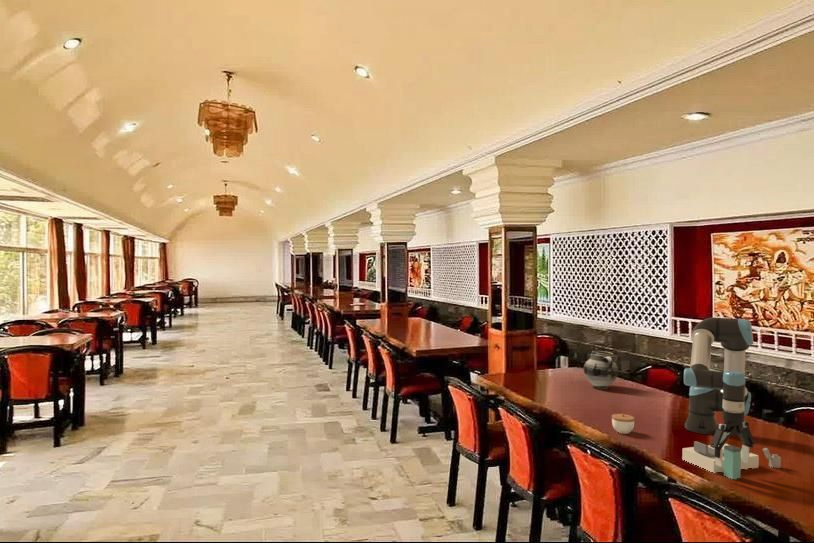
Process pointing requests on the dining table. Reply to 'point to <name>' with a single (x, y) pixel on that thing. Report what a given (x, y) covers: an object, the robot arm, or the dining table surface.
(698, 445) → the shutter
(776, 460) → the lighter
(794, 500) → the dining table surface
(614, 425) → the lidded jar
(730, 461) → the plug
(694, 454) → the socket
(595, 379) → the ceramic pot
